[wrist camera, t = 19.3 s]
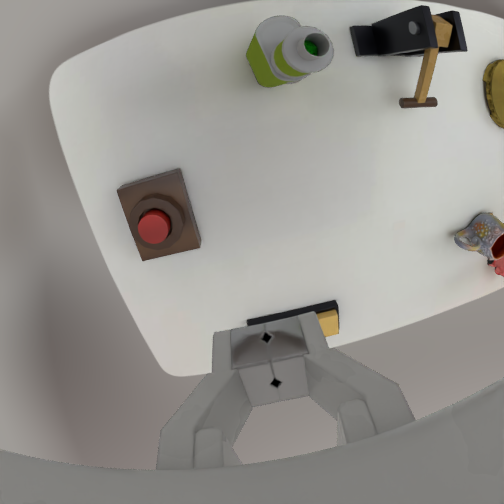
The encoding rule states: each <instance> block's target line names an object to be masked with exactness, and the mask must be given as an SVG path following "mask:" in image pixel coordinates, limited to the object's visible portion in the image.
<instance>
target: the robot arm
mask: <svg viewBox="0 0 504 504" xmlns="http://www.w3.org/2000/svg"><path fill="white" fill-rule="evenodd" d="M306 396H310V398H311V399H312V400H314V401H315V402H316V403H317V404H318V405H320V407H322V408H323V409H324V410H325V411H326V412H327V413H329V414H330V415H331V416H332V417H333V418H335V419H336V420H337V424H338V425H337V447H334V448H330V449H325V450H321V451H317V452H313V453H308V454H303V455H299V456H294V457H289V458H284V459H278V460H272V461H266V462H260V463H253V464H245V465H243V464H242V462H241V461H240V459H239V458H238V456H237V454H236V453H235V451H234V449H233V448H232V446H233V444H234V443H235V441H236V439H237V437H238V435H239V433H240V432H241V430H242V428H243V426H244V424H245V422H246V420H247V419H248V417H249V415H250V413H251V411H252V407H256V406H261V405H266V404H271V403H275V402H279V401H280V400H281V401H285V400H290V399H296V398H301V397H306ZM0 504H504V377H503V378H502V379H500V380H498V381H496V382H495V383H493V384H491V385H490V386H488V387H486V388H484V389H482V390H480V391H478V392H476V393H475V394H473V395H471V396H469V397H467V398H465V399H463V400H461V401H459V402H457V403H455V404H452V405H450V406H448V407H446V408H444V409H442V410H439V411H437V412H435V413H433V414H430V415H428V416H425V417H423V418H421V419H418V420H415V418H414V416H413V414H412V411H411V409H410V408H409V405H408V403H407V401H406V399H405V397H404V395H403V393H402V391H401V389H400V387H399V385H398V384H397V383H395V382H394V381H392V380H390V379H388V378H386V377H385V376H383V375H381V374H379V373H378V372H376V371H374V370H372V369H370V368H369V367H367V366H365V365H363V364H362V363H360V362H358V361H356V360H355V359H353V358H351V357H349V356H348V355H346V354H344V353H342V352H341V351H339V350H338V349H336V348H330V349H329V347H328V344H327V341H326V339H325V336H324V333H323V331H322V328H321V325H320V323H319V320H318V318H317V315H316V313H315V312H314V311H313V312H309V313H305V314H301V315H298V316H294V317H290V318H286V319H281V320H277V321H272V322H268V323H263V324H258V325H252V326H247V327H241V328H235V329H231V330H225V331H219V332H214V335H213V350H212V373H208V374H206V376H205V377H204V378H203V379H202V380H201V382H200V383H199V384H198V386H197V387H196V388H195V389H194V391H193V392H192V393H191V394H190V395H189V397H188V398H187V399H186V400H185V402H184V403H183V404H182V405H181V406H180V408H179V409H178V410H177V411H176V413H175V414H174V415H173V416H172V417H171V419H170V420H169V421H168V422H167V423H166V425H165V426H164V427H163V428H162V429H161V432H160V439H159V447H158V456H157V464H156V470H136V469H117V468H103V467H93V466H84V465H76V464H69V463H63V462H56V461H51V460H45V459H40V458H35V457H30V456H26V455H22V454H18V453H13V452H9V451H6V450H2V449H0Z"/></svg>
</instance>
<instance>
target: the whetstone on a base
mask: <svg viewBox="0 0 504 504" xmlns="http://www.w3.org/2000/svg"><path fill="white" fill-rule="evenodd" d="M313 311H314V312H315V313H316V315H317V318H318V320H319V323H320V325H321V328H322V331H323V333H324V336H325V337H327V336H331V335H335V334H339V310H338V304H337V302H336V300H333V301H329V302H325V303H321V304H317V305H313V306H308V307H304V308H300V309H296V310H291V311H287V312H282V313H278V314H273V315H269V316H264V317H259V318H254V319H250V320H247V324H248V326H252V325H258V324H263V323H268V322H272V321H277V320H281V319H286V318H290V317H294V316H298V315H301V314H305V313H309V312H313Z"/></svg>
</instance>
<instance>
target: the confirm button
mask: <svg viewBox="0 0 504 504" xmlns="http://www.w3.org/2000/svg"><path fill="white" fill-rule="evenodd" d="M170 226H171V224H170V220H169V218H168V216H167V215H166V214H165V213H164V212H162V211H160V210H150V211H148V212H146V213H145V214H144V215H143V217H142V218H141V220H140V222H139V224H138V232H139V234H140V236H141V238H142V239H143V240H144V241H146V242H148V243H151V244H157V243H160V242H162V241H164V240H165V239H166V237H167V235H168V233H169V230H170Z"/></svg>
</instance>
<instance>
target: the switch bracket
mask: <svg viewBox="0 0 504 504" xmlns="http://www.w3.org/2000/svg"><path fill="white" fill-rule="evenodd" d="M436 15H437V16H440V17H441V18H443V19H444V20H446V21H447V22H449V23H450V24H451V25H453V27H452V31H451V36H450V40H449V45H448V47H440V46H439V51H438V53H450V52H465V51H467V46H466V41H465V36H464V31H463V27H462V23H461V18H460V14H459V12H457V11H448V12H444V13H440V14H436ZM371 25H372V26H352V27H350V31H351V35H352V39H353V44H354V49H355V53H356V56H410V57H411V56H424V52H425V50H426V49H434V48H438V42H437V37H436V33H435V28H434V24H433V20H432V16H431V12H430V8H429V6H423V5H421V6H418V7H415V8H412V9H409V10H407V11H404V12H401V13H399V14H396V15H393V16H391V17H388V18H386V19H383V20H381V21H378V22H376V23H373V24H371Z"/></svg>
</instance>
